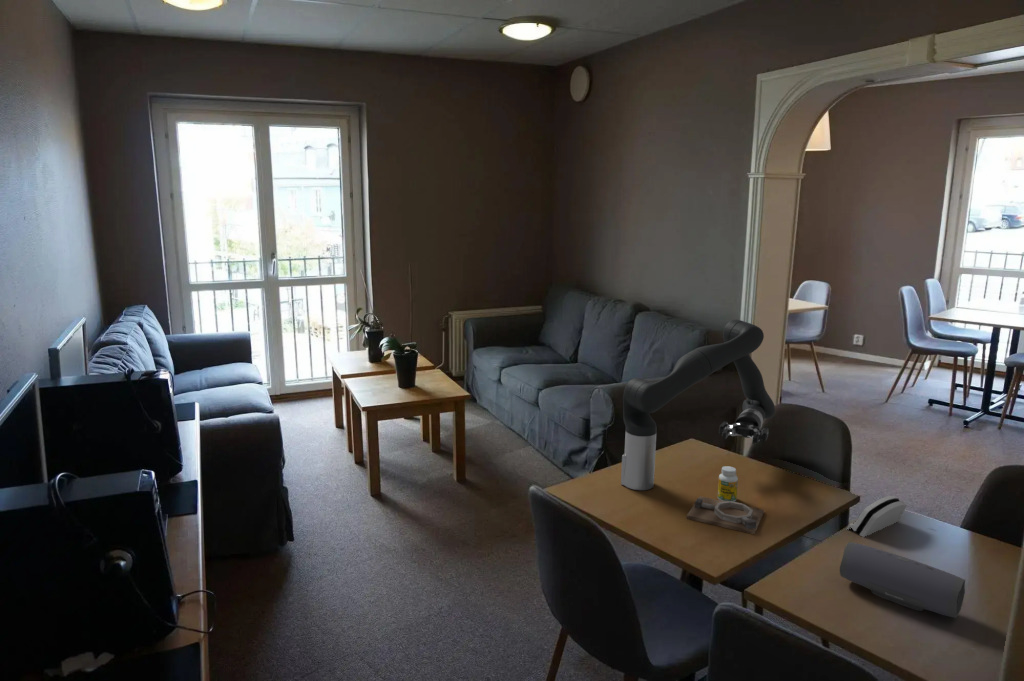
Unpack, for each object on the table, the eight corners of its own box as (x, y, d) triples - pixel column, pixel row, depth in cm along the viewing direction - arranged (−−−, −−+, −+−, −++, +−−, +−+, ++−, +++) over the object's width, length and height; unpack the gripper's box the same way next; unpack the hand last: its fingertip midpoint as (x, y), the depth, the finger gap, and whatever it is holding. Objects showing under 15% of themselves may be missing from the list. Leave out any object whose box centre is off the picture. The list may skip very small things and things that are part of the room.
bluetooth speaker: (962, 612, 147) (968, 570, 145) (952, 631, 140) (959, 588, 138) (850, 572, 162) (855, 533, 160) (836, 588, 155) (841, 548, 153)
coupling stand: (686, 518, 188) (687, 509, 187) (699, 499, 200) (700, 490, 199) (754, 534, 180) (755, 524, 179) (763, 513, 191) (764, 504, 191)
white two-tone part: (880, 514, 191) (896, 487, 186) (895, 526, 188) (912, 499, 183) (845, 529, 182) (861, 501, 178) (860, 542, 179) (877, 514, 174)
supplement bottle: (736, 496, 202) (738, 466, 200) (736, 504, 197) (739, 473, 195) (717, 494, 203) (719, 464, 201) (717, 501, 198) (719, 471, 196)
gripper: (727, 408, 223) (716, 423, 210) (773, 414, 217) (764, 430, 203) (726, 430, 225) (714, 446, 211) (771, 437, 218) (762, 454, 204)
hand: (739, 438), depth 207 cm, fingers open, 8 cm apart
